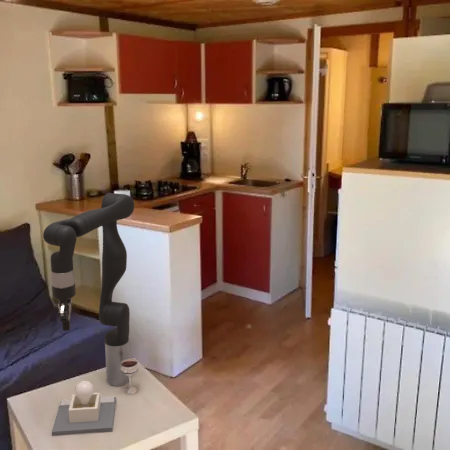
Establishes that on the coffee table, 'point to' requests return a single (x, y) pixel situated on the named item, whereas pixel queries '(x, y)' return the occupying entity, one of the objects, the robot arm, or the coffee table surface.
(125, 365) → the wineglass
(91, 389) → the lightbulb
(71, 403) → the socket board
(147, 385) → the coffee table surface
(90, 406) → the socket plunger
